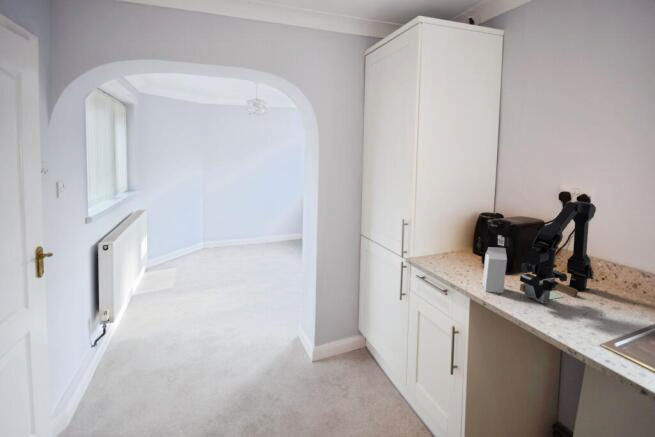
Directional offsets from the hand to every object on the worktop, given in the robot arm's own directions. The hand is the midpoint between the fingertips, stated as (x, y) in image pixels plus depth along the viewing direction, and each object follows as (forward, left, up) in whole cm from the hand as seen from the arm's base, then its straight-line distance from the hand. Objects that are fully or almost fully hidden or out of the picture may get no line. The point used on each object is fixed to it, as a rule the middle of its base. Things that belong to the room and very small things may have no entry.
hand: (540, 297), depth 150 cm
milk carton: (+9, -17, -2) cm, 19 cm away
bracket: (-1, -2, -1) cm, 3 cm away
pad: (-10, -6, -2) cm, 12 cm away
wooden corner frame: (-10, -6, -2) cm, 12 cm away
